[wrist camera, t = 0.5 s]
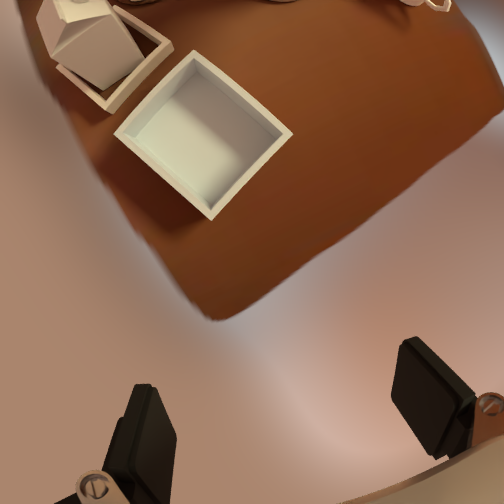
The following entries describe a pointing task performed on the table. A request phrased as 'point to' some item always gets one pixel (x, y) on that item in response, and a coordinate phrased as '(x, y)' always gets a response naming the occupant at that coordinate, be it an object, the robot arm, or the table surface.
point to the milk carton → (89, 40)
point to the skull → (135, 1)
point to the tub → (202, 133)
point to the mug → (429, 4)
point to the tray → (137, 75)
